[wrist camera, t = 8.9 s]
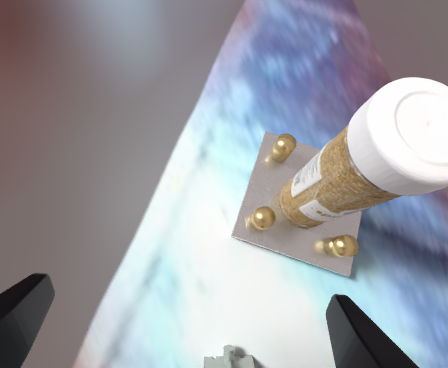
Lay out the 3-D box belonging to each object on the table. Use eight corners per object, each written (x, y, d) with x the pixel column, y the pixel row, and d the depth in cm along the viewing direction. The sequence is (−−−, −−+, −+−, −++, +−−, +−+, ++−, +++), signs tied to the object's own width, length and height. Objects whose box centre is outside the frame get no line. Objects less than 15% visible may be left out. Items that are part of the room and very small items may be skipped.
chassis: (343, 275, 22) (368, 278, 19) (230, 236, 22) (234, 232, 19) (364, 169, 25) (388, 155, 21) (263, 136, 25) (271, 117, 22)
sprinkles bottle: (301, 239, 22) (436, 209, 9) (267, 194, 23) (346, 108, 10) (341, 208, 23) (518, 140, 10) (308, 166, 23) (428, 53, 11)
